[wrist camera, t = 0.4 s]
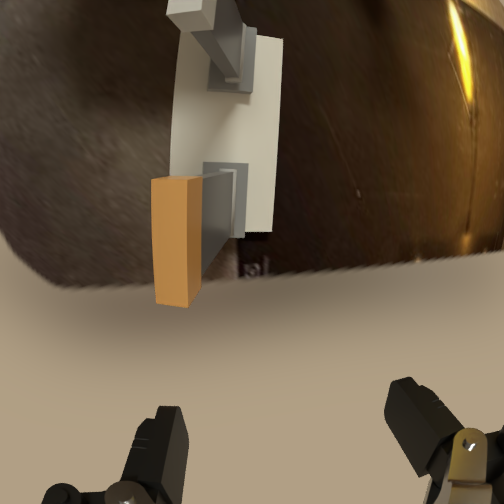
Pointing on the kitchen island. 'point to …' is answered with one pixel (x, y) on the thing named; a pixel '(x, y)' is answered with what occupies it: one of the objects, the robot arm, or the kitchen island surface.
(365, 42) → the kitchen island surface
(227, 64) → the grey lever
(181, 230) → the orange lever
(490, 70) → the kitchen island surface
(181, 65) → the switch panel
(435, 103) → the kitchen island surface
